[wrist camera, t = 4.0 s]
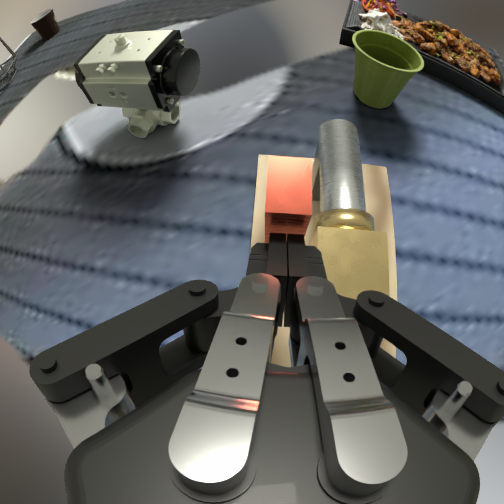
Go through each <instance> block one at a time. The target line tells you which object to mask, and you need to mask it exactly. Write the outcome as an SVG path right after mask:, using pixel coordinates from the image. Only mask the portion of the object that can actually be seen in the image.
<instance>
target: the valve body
mask: <svg viewBox="0 0 504 504" xmlns="http://www.w3.org/2000/svg"><path fill="white" fill-rule="evenodd" d="M312 200H313V201H320V213H319V214H317V215H316V216H315V217H314V219H313V238H312V241H311V243H310V245H309V246H315V247H316V248H317V249H319V250H320V251H321V254H322V259H323V263H324V267H325V271H326V276H327V280H328V281H330V282H331V283H332V284H333V285H334V287H335V289H336V292H337V294H339V295H341V296H344V297H348V298H352V299H357V296H358V295H359V293H361V292H363V291H367V290H374V291H379V292H382V293H384V294H386V295H388V296H389V297H390V294H389V258H388V240H387V232H381V231H375V225H374V218H373V216H372V215H371V214H369V213H367V212H366V203H365V191H364V180H363V171H362V162H361V154H360V146H359V139H358V132H357V128H356V126H355V125H354V124H353V123H351V122H349V121H347V120H343V119H333V120H329V121H326V122H324V123H323V124H322V125H321V126H320V127H319V129H318V146H317V150H316V154H315V158H314V163H313V167H312Z"/></svg>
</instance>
